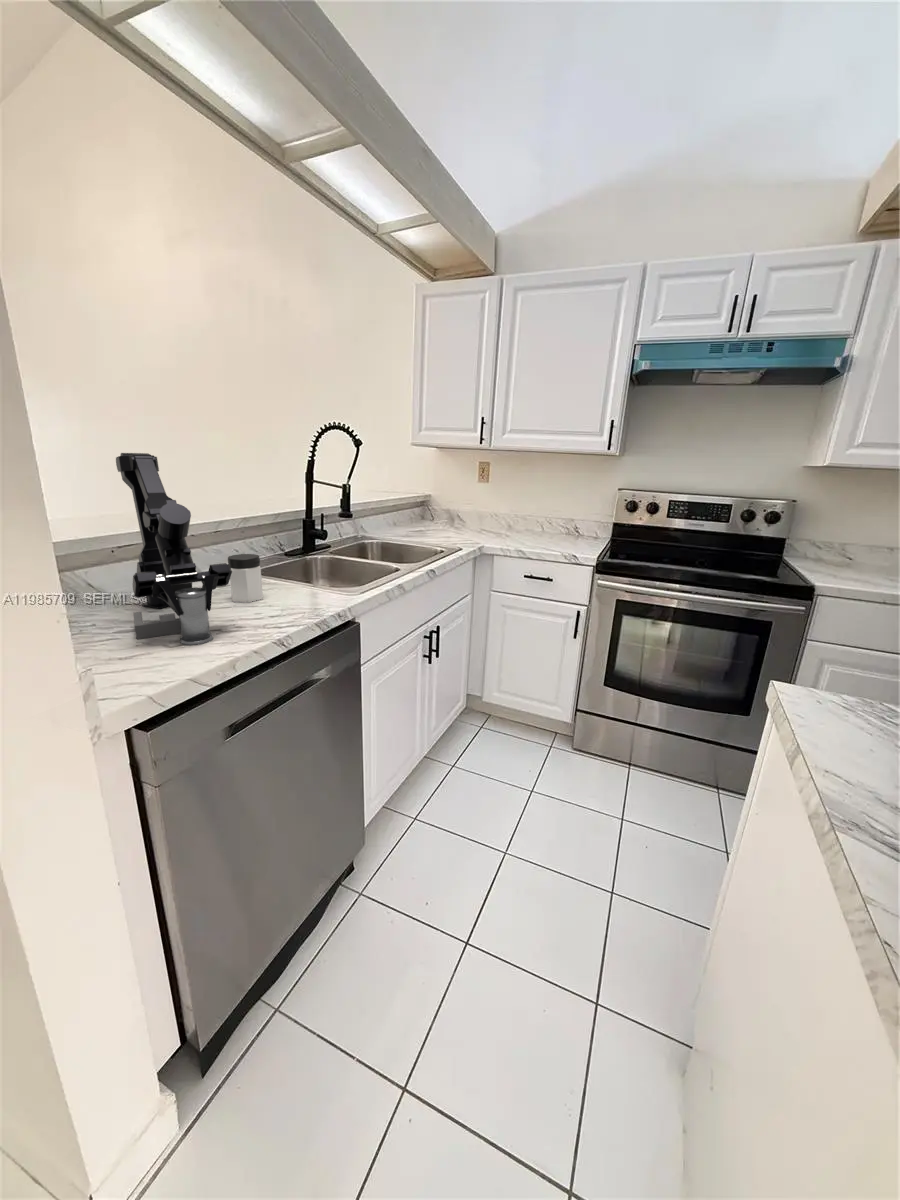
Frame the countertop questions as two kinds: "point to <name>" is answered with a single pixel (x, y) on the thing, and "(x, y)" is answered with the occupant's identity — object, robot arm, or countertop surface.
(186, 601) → the dark grey flanged cylinder
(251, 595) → the jar
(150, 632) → the u-shaped bracket
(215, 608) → the countertop surface
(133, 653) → the countertop surface
